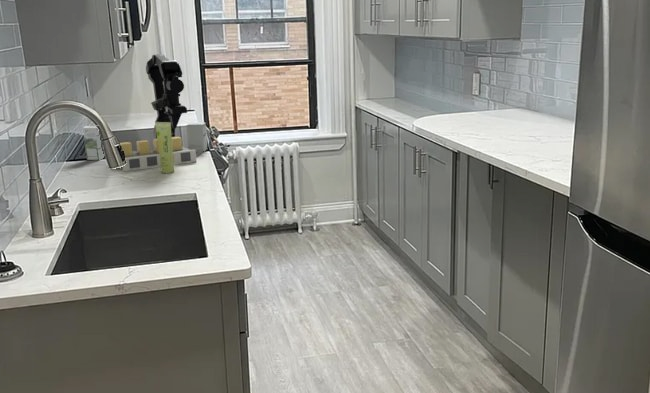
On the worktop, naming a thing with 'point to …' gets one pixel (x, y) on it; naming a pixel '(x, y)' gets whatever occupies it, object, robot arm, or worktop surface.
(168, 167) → the tube
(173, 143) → the button
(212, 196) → the worktop surface
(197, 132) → the supplement box
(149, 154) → the button board
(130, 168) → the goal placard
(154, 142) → the button
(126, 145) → the button
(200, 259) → the worktop surface
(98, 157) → the syrup box
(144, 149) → the button
